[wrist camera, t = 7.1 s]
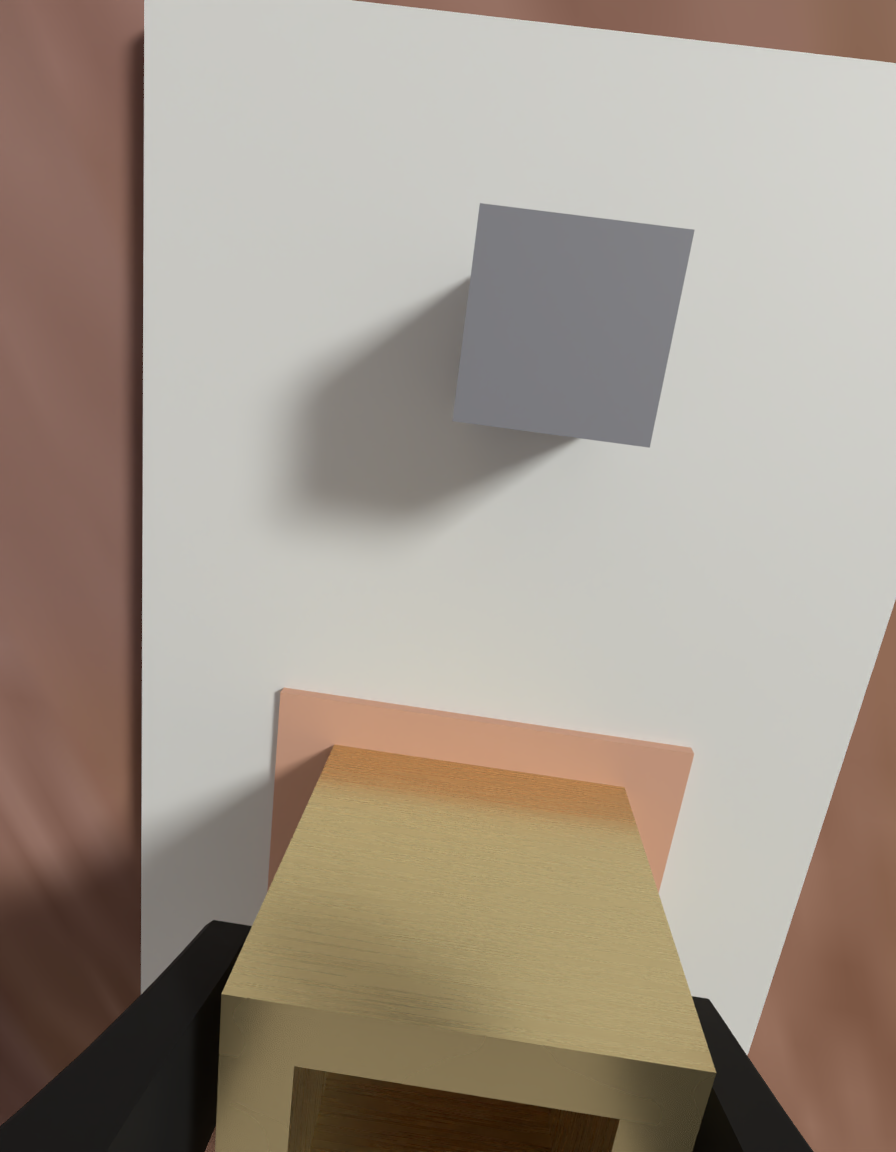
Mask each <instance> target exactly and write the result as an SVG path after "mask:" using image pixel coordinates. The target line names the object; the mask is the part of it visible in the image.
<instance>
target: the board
mask: <svg viewBox="0 0 896 1152" xmlns="http://www.w3.org/2000/svg"><path fill="white" fill-rule="evenodd" d="M895 599H896V63H889V62H881V61H872V60H864V59H855V58H846V57H838V56H829V55H820V54H812V53H803V52H794V51H786V50H777V49H768V48H760V47H751V46H742V45H734V44H725V43H716V42H708V41H699V40H690V39H682V38H673V37H664V36H656V35H647V34H638V33H630V32H621V31H612V30H604V29H595V28H586V27H578V26H569V25H560V24H552V23H543V22H534V21H526V20H517V19H508V18H500V17H491V16H482V15H474V14H465V13H456V12H448V11H439V10H430V9H422V8H413V7H404V6H396V5H387V4H378V3H370V2H361V1H352V0H144V252H143V539H142V825H141V994H142V993H143V992H144V991H145V990H146V989H147V988H148V987H149V986H150V985H151V984H152V983H153V982H154V981H155V980H156V979H157V978H158V976H159V975H160V974H161V973H162V972H163V971H164V970H165V969H166V968H167V967H168V966H169V965H170V964H171V963H172V962H173V961H174V959H175V958H176V957H177V956H178V955H179V954H180V953H181V952H182V951H183V950H184V949H185V947H186V946H187V945H188V944H189V943H190V942H191V941H192V940H193V939H194V938H195V936H196V935H197V934H198V933H199V932H200V931H201V930H202V929H203V927H204V926H205V925H206V924H208V923H209V922H211V921H212V920H218V921H224V922H230V923H236V924H243V925H249V926H252V925H253V923H254V921H255V919H256V916H257V914H258V912H259V910H260V908H261V905H262V903H263V901H264V899H265V897H266V894H267V892H268V890H269V888H270V885H271V883H272V881H273V879H274V877H275V874H276V872H277V870H278V868H279V866H280V863H281V861H282V859H283V857H284V855H285V852H286V850H287V848H288V846H289V844H290V841H291V839H292V837H293V835H294V832H295V830H296V828H297V826H298V824H299V821H300V819H301V817H302V815H303V813H304V810H305V808H306V806H307V804H308V802H309V799H310V797H311V795H312V793H313V791H314V788H315V786H316V784H317V782H318V780H319V777H320V775H321V773H322V771H323V768H324V766H325V764H326V762H327V760H328V757H329V755H330V753H331V751H332V749H333V746H334V745H341V746H348V747H354V748H361V749H368V750H375V751H382V752H388V753H395V754H402V755H409V756H416V757H423V758H429V759H436V760H443V761H450V762H457V763H463V764H470V765H477V766H484V767H491V768H498V769H504V770H511V771H518V772H525V773H532V774H538V775H545V776H552V777H559V778H566V779H573V780H579V781H586V782H593V783H600V784H607V785H613V786H620V787H625V790H626V794H627V797H628V800H629V803H630V806H631V809H632V812H633V815H634V818H635V822H636V825H637V828H638V831H639V834H640V837H641V840H642V843H643V846H644V850H645V853H646V856H647V859H648V862H649V865H650V868H651V871H652V874H653V878H654V881H655V884H656V887H657V890H658V893H659V896H660V899H661V902H662V906H663V909H664V912H665V915H666V918H667V921H668V924H669V927H670V930H671V934H672V937H673V940H674V943H675V946H676V949H677V952H678V955H679V958H680V962H681V965H682V968H683V971H684V974H685V977H686V980H687V983H688V986H689V990H690V993H691V996H695V997H701V998H708V999H709V1000H710V1001H711V1002H712V1004H713V1005H714V1007H715V1008H716V1010H717V1011H718V1013H719V1014H720V1016H721V1017H722V1019H723V1020H724V1022H725V1023H726V1025H727V1026H728V1028H729V1029H730V1031H731V1032H732V1034H733V1035H734V1037H735V1038H736V1040H737V1041H738V1043H739V1044H740V1046H741V1047H742V1049H743V1050H744V1052H745V1053H746V1055H748V1052H749V1049H750V1046H751V1043H752V1040H753V1037H754V1034H755V1031H756V1028H757V1024H758V1021H759V1018H760V1015H761V1012H762V1009H763V1006H764V1003H765V1000H766V997H767V994H768V991H769V988H770V984H771V981H772V978H773V975H774V972H775V969H776V966H777V963H778V960H779V957H780V954H781V951H782V947H783V944H784V941H785V938H786V935H787V932H788V929H789V926H790V923H791V920H792V917H793V914H794V911H795V907H796V904H797V901H798V898H799V895H800V892H801V889H802V886H803V883H804V880H805V877H806V874H807V870H808V867H809V864H810V861H811V858H812V855H813V852H814V849H815V846H816V843H817V840H818V837H819V834H820V830H821V827H822V824H823V821H824V818H825V815H826V812H827V809H828V806H829V803H830V800H831V797H832V794H833V790H834V787H835V784H836V781H837V778H838V775H839V772H840V769H841V766H842V763H843V760H844V757H845V753H846V750H847V747H848V744H849V741H850V738H851V735H852V732H853V729H854V726H855V723H856V720H857V717H858V713H859V710H860V707H861V704H862V701H863V698H864V695H865V692H866V689H867V686H868V683H869V680H870V676H871V673H872V670H873V667H874V664H875V661H876V658H877V655H878V652H879V649H880V646H881V643H882V640H883V636H884V633H885V630H886V627H887V624H888V621H889V618H890V615H891V612H892V609H893V606H894V603H895Z"/></svg>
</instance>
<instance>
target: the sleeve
mask: <svg viewBox="0 0 896 1152" xmlns="http://www.w3.org/2000/svg"><path fill="white" fill-rule="evenodd" d="M715 1075H716V1070H715V1067H714V1064H713V1061H712V1058H711V1055H710V1052H709V1049H708V1046H707V1042H706V1039H705V1036H704V1033H703V1030H702V1027H701V1024H700V1021H699V1018H698V1014H697V1011H696V1008H695V1005H694V1002H693V999H692V996H691V993H690V990H689V986H688V983H687V980H686V977H685V974H684V971H683V968H682V965H681V962H680V958H679V955H678V952H677V949H676V946H675V943H674V940H673V937H672V934H671V930H670V927H669V924H668V921H667V918H666V915H665V912H664V909H663V906H662V902H661V899H660V896H659V893H658V890H657V887H656V884H655V881H654V878H653V874H652V871H651V868H650V865H649V862H648V859H647V856H646V853H645V850H644V846H643V843H642V840H641V837H640V834H639V831H638V828H637V825H636V822H635V818H634V815H633V812H632V809H631V806H630V803H629V800H628V797H627V794H626V790H625V787H620V786H613V785H607V784H600V783H593V782H586V781H579V780H573V779H566V778H559V777H552V776H545V775H538V774H532V773H525V772H518V771H511V770H504V769H498V768H491V767H484V766H477V765H470V764H463V763H457V762H450V761H443V760H436V759H429V758H423V757H416V756H409V755H402V754H395V753H388V752H382V751H375V750H368V749H361V748H354V747H348V746H341V745H334V746H333V749H332V751H331V753H330V755H329V757H328V760H327V762H326V764H325V766H324V768H323V771H322V773H321V775H320V777H319V780H318V782H317V784H316V786H315V788H314V791H313V793H312V795H311V797H310V799H309V802H308V804H307V806H306V808H305V810H304V813H303V815H302V817H301V819H300V821H299V824H298V826H297V828H296V830H295V832H294V835H293V837H292V839H291V841H290V844H289V846H288V848H287V850H286V852H285V855H284V857H283V859H282V861H281V863H280V866H279V868H278V870H277V872H276V874H275V877H274V879H273V881H272V883H271V885H270V888H269V890H268V892H267V894H266V897H265V899H264V901H263V903H262V905H261V908H260V910H259V912H258V914H257V916H256V919H255V921H254V923H253V925H252V927H251V930H250V932H249V934H248V936H247V938H246V941H245V943H244V945H243V947H242V949H241V952H240V954H239V956H238V958H237V961H236V963H235V965H234V967H233V969H232V972H231V974H230V976H229V978H228V980H227V983H226V985H225V987H224V989H223V991H222V994H221V1016H220V1041H219V1066H218V1091H217V1116H216V1141H215V1152H692V1151H693V1147H694V1144H695V1141H696V1138H697V1134H698V1131H699V1128H700V1124H701V1121H702V1118H703V1115H704V1111H705V1108H706V1105H707V1102H708V1098H709V1095H710V1092H711V1088H712V1085H713V1082H714V1079H715Z"/></svg>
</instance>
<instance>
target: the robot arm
mask: <svg viewBox="0 0 896 1152" xmlns="http://www.w3.org/2000/svg"><path fill="white" fill-rule="evenodd" d="M251 927H252V926H249V925H243V924H236V923H230V922H224V921H218V920H212V921H211V922H209V923H208V924H206V925H205V926H204V927H203V929H202V930H201V931H200V932H199V933H198V934H197V935H196V936H195V938H194V939H193V940H192V941H191V942H190V943H189V944H188V945H187V946H186V947H185V949H184V950H183V951H182V952H181V953H180V954H179V955H178V956H177V957H176V958H175V959H174V961H173V962H172V963H171V964H170V965H169V966H168V967H167V968H166V969H165V970H164V971H163V972H162V973H161V974H160V975H159V976H158V978H157V979H156V980H155V981H154V982H153V983H152V984H151V985H150V986H149V987H148V988H147V989H146V990H145V991H144V992H143V993H142V994H141V995H140V996H139V997H138V998H137V999H136V1000H135V1001H134V1002H133V1003H132V1004H131V1005H130V1006H129V1007H128V1008H127V1009H126V1010H125V1011H124V1012H123V1013H122V1014H121V1015H120V1016H119V1017H118V1018H117V1019H116V1020H115V1021H114V1022H113V1023H112V1024H111V1025H110V1026H109V1027H108V1028H107V1029H106V1030H105V1031H104V1032H103V1033H102V1034H101V1035H100V1036H99V1037H98V1038H97V1039H96V1040H95V1041H94V1042H93V1043H92V1044H91V1045H90V1046H89V1047H88V1048H87V1049H85V1050H84V1051H83V1052H82V1053H81V1054H80V1055H79V1056H78V1057H77V1058H76V1059H75V1060H74V1061H73V1062H71V1063H70V1064H69V1065H68V1066H67V1067H66V1068H65V1069H64V1070H63V1071H62V1072H60V1073H59V1074H58V1075H57V1076H56V1077H55V1078H54V1079H53V1080H52V1081H51V1082H49V1083H48V1084H47V1085H46V1086H45V1087H44V1088H43V1089H42V1090H41V1091H40V1092H39V1093H37V1094H36V1095H35V1096H34V1097H33V1098H32V1099H31V1100H30V1101H29V1102H28V1103H26V1104H25V1105H24V1106H23V1107H22V1108H21V1109H20V1110H19V1111H17V1112H16V1113H15V1114H14V1115H13V1116H12V1117H10V1118H9V1119H8V1120H7V1121H6V1122H5V1123H3V1124H2V1125H1V1126H0V1152H205V1149H206V1147H207V1145H208V1142H209V1140H210V1137H211V1135H212V1133H213V1130H214V1128H215V1126H216V1116H217V1091H218V1066H219V1041H220V1016H221V994H222V991H223V989H224V987H225V985H226V983H227V980H228V978H229V976H230V974H231V972H232V969H233V967H234V965H235V963H236V961H237V958H238V956H239V954H240V952H241V949H242V947H243V945H244V943H245V941H246V938H247V936H248V934H249V932H250V930H251ZM692 999H693V1002H694V1005H695V1008H696V1011H697V1014H698V1018H699V1021H700V1024H701V1027H702V1030H703V1033H704V1036H705V1039H706V1042H707V1046H708V1049H709V1052H710V1055H711V1058H712V1061H713V1064H714V1067H715V1070H716V1075H715V1079H714V1082H713V1085H712V1088H711V1092H710V1095H709V1098H708V1102H707V1105H706V1108H705V1111H704V1115H703V1118H702V1121H701V1124H700V1128H699V1131H698V1134H697V1138H696V1141H695V1144H694V1147H693V1151H692V1152H813V1150H812V1149H811V1148H810V1146H809V1145H808V1143H807V1142H806V1141H805V1139H804V1138H803V1136H802V1135H801V1134H800V1132H799V1131H798V1129H797V1128H796V1127H795V1125H794V1124H793V1122H792V1121H791V1119H790V1118H789V1117H788V1115H787V1114H786V1112H785V1111H784V1109H783V1108H782V1106H781V1105H780V1103H779V1102H778V1101H777V1099H776V1098H775V1096H774V1095H773V1093H772V1092H771V1090H770V1089H769V1087H768V1086H767V1084H766V1083H765V1081H764V1080H763V1078H762V1077H761V1075H760V1074H759V1073H758V1071H757V1070H756V1068H755V1067H754V1065H753V1064H752V1062H751V1061H750V1059H749V1058H748V1056H747V1055H746V1053H745V1052H744V1050H743V1049H742V1047H741V1046H740V1044H739V1043H738V1041H737V1040H736V1038H735V1037H734V1035H733V1034H732V1032H731V1031H730V1029H729V1028H728V1026H727V1025H726V1023H725V1022H724V1020H723V1019H722V1017H721V1016H720V1014H719V1013H718V1011H717V1010H716V1008H715V1007H714V1005H713V1004H712V1002H711V1001H710V1000H709V999H708V998H701V997H695V996H692Z"/></svg>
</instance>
